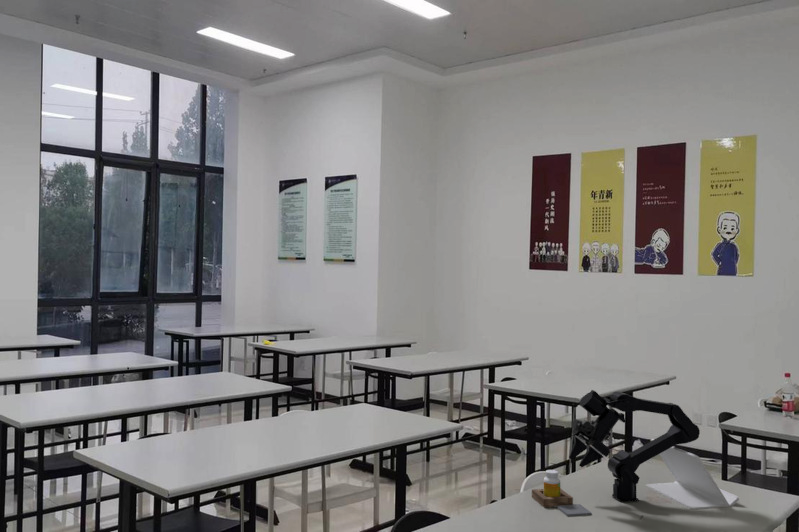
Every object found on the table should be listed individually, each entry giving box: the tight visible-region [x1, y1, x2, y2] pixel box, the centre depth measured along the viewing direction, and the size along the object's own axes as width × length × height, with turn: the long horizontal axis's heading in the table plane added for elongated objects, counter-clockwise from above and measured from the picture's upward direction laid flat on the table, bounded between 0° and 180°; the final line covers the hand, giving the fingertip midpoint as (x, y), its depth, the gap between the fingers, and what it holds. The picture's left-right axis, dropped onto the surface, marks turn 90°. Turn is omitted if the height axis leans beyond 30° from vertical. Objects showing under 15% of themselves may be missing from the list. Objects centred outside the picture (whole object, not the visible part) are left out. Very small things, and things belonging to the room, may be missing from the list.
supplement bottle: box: [543, 469, 561, 497], centre depth 219 cm, size 5×5×10 cm
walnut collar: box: [531, 487, 574, 508], centre depth 218 cm, size 10×10×2 cm
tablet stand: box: [645, 438, 740, 510], centre depth 226 cm, size 18×25×17 cm
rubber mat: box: [556, 503, 593, 517], centre depth 209 cm, size 8×8×1 cm
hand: (575, 462), depth 219 cm, fingers open, 9 cm apart
